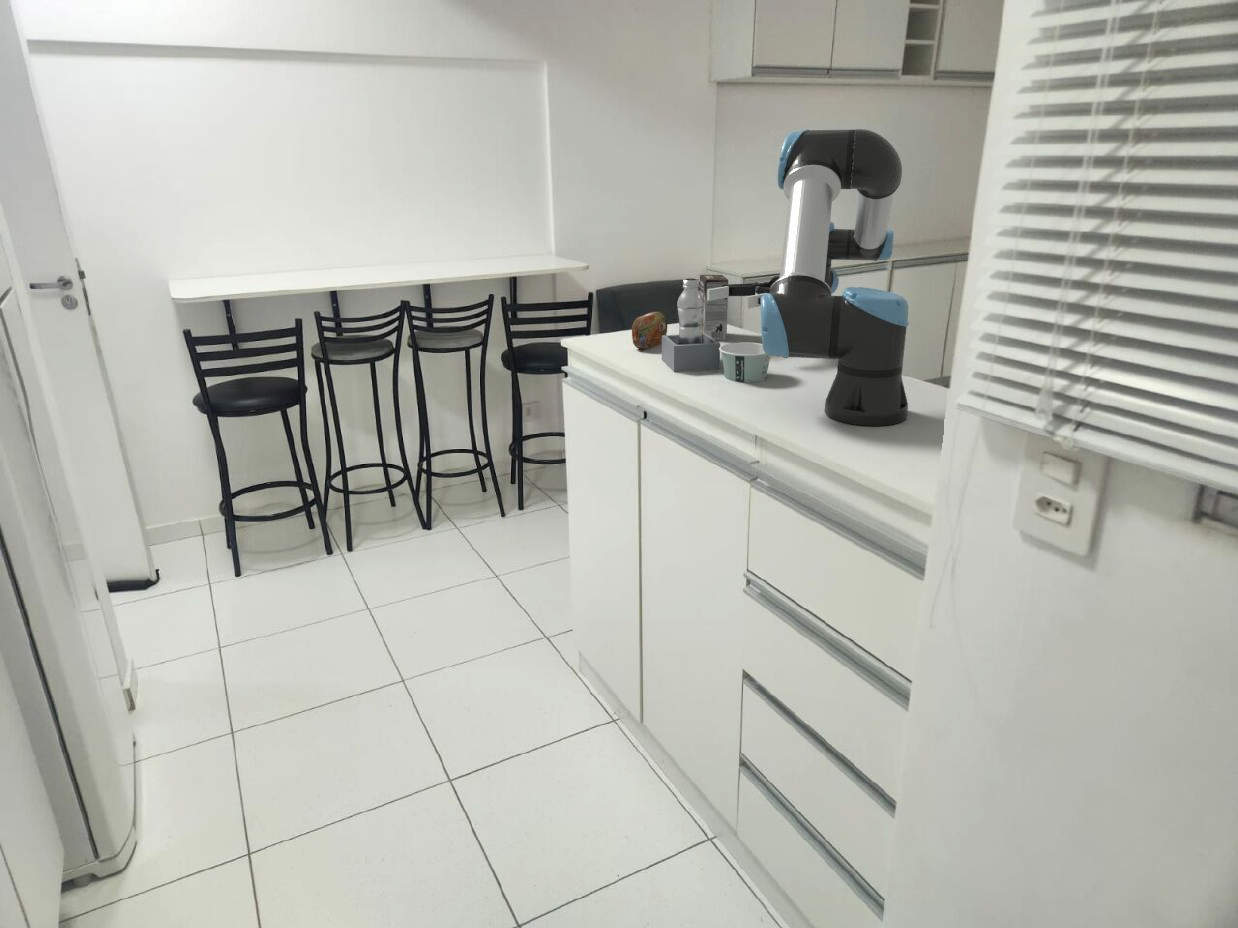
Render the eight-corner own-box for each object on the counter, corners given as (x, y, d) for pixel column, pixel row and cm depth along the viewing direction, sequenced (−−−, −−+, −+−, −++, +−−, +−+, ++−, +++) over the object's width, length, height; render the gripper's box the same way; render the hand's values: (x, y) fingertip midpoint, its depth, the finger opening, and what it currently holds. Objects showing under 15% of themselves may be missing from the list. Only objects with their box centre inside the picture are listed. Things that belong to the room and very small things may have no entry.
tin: (640, 352, 204) (640, 319, 201) (629, 351, 206) (629, 318, 203) (668, 340, 216) (668, 309, 213) (658, 339, 218) (658, 308, 215)
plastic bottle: (670, 364, 192) (670, 279, 185) (690, 359, 196) (691, 276, 189) (690, 369, 187) (691, 282, 180) (709, 364, 192) (711, 279, 184)
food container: (771, 384, 174) (773, 355, 171) (716, 383, 176) (716, 353, 174) (772, 370, 185) (774, 342, 182) (720, 369, 187) (721, 341, 185)
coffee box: (698, 333, 224) (699, 274, 218) (721, 332, 224) (722, 274, 218) (703, 340, 215) (704, 279, 210) (727, 339, 216) (728, 278, 210)
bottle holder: (719, 368, 187) (720, 343, 185) (673, 371, 185) (674, 346, 183) (705, 356, 198) (705, 332, 196) (661, 359, 196) (661, 335, 194)
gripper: (825, 310, 196) (763, 322, 185) (753, 296, 215) (693, 307, 204) (828, 279, 193) (765, 289, 182) (754, 268, 212) (693, 277, 201)
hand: (726, 298), depth 193 cm, fingers open, 13 cm apart
